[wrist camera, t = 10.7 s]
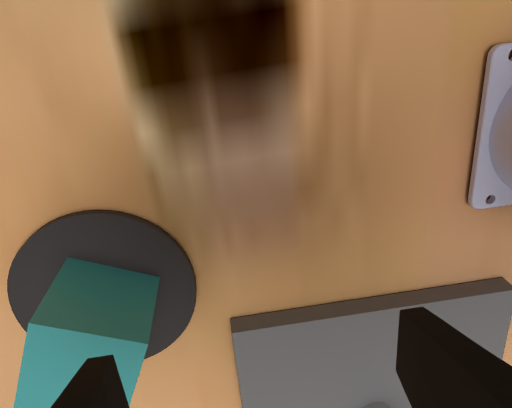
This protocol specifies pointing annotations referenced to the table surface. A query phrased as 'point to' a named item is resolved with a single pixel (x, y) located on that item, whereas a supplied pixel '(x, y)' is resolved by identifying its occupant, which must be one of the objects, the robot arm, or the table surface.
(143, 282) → the teal cube
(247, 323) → the post base
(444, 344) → the robot arm
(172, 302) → the coaster
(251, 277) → the table surface
